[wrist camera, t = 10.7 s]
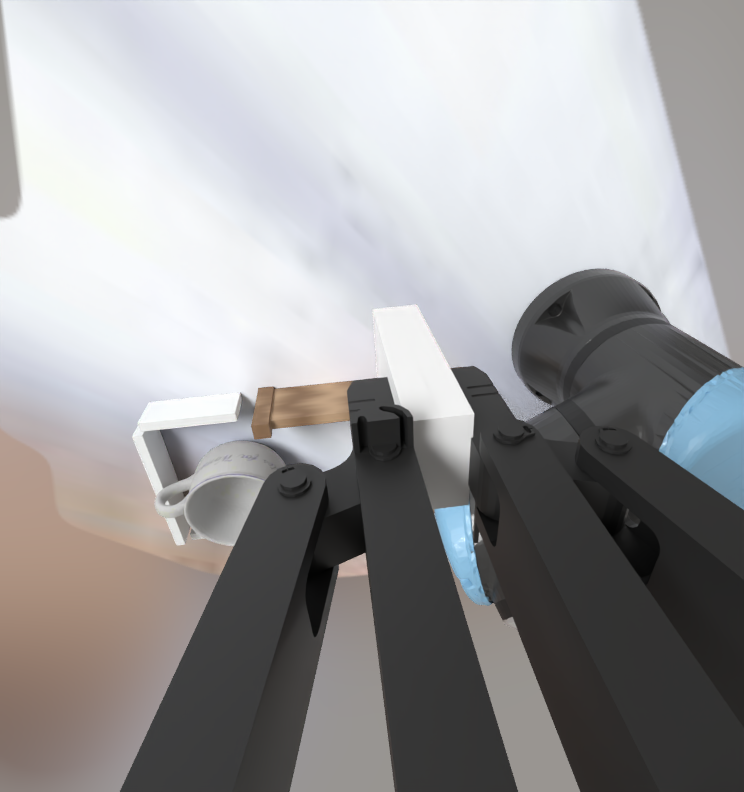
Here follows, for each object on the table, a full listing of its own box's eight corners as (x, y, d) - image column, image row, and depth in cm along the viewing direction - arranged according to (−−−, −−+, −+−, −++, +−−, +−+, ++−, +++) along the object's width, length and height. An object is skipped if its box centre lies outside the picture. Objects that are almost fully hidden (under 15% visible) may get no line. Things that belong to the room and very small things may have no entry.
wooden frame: (461, 367, 51) (481, 401, 45) (455, 497, 62) (470, 539, 56) (258, 388, 50) (251, 425, 44) (286, 518, 60) (283, 563, 54)
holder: (240, 392, 50) (234, 413, 47) (270, 518, 60) (268, 542, 57) (139, 402, 49) (126, 424, 46) (187, 528, 59) (180, 553, 56)
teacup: (299, 434, 54) (297, 482, 47) (284, 503, 59) (281, 554, 52) (171, 417, 51) (149, 464, 44) (168, 491, 56) (148, 543, 49)
